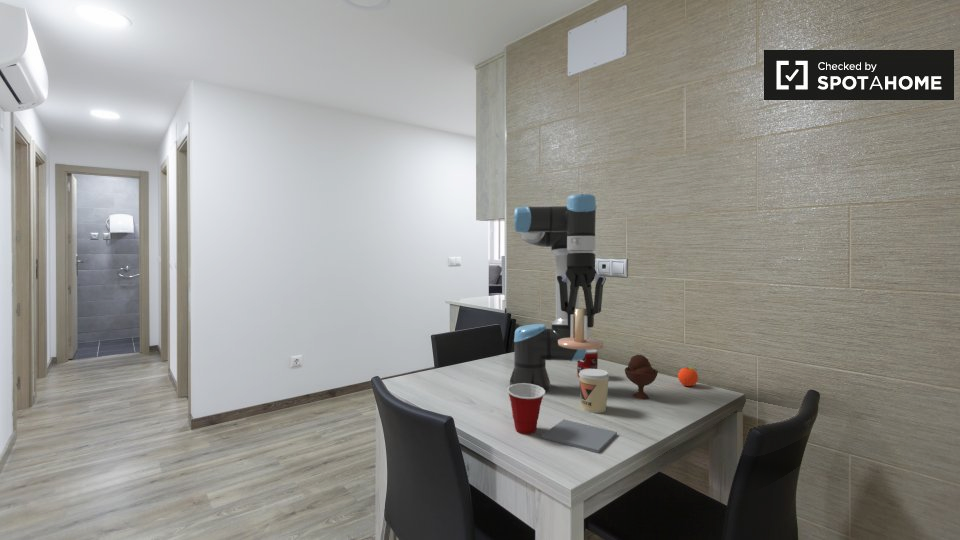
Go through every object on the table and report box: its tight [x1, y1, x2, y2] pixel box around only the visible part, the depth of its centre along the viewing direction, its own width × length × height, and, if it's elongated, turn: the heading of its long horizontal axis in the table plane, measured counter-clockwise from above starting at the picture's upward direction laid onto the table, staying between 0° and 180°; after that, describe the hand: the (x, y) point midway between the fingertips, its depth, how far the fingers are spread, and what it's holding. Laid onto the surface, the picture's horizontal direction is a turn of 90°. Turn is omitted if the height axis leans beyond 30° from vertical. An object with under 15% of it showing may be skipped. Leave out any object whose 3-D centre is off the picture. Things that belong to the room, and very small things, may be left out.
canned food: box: [576, 349, 599, 379], centre depth 181 cm, size 8×8×11 cm
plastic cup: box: [506, 383, 546, 435], centre depth 127 cm, size 11×11×12 cm
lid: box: [558, 307, 604, 350], centre depth 122 cm, size 12×12×10 cm
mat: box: [541, 419, 618, 454], centre depth 123 cm, size 16×14×1 cm
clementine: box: [677, 366, 699, 387], centre depth 169 cm, size 8×7×7 cm
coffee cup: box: [579, 368, 610, 414], centre depth 144 cm, size 9×9×12 cm
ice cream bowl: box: [624, 354, 659, 400], centre depth 156 cm, size 11×11×15 cm
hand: (580, 338), depth 122 cm, fingers closed on lid, 3 cm apart
